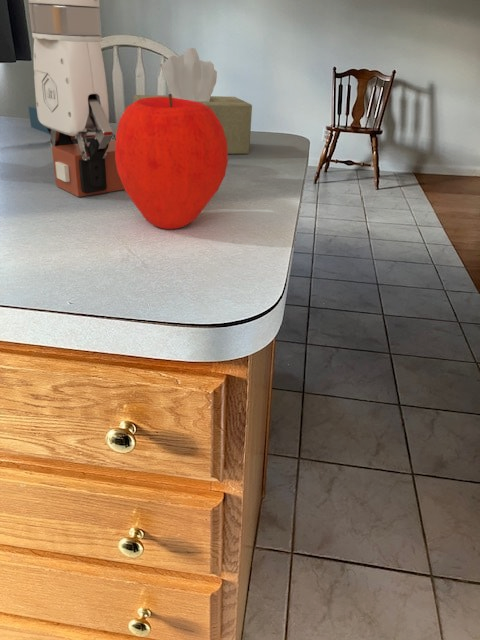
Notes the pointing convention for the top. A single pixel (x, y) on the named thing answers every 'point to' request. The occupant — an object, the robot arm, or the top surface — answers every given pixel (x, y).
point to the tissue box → (207, 97)
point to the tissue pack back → (39, 126)
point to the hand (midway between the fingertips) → (80, 183)
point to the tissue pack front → (70, 172)
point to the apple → (170, 158)
